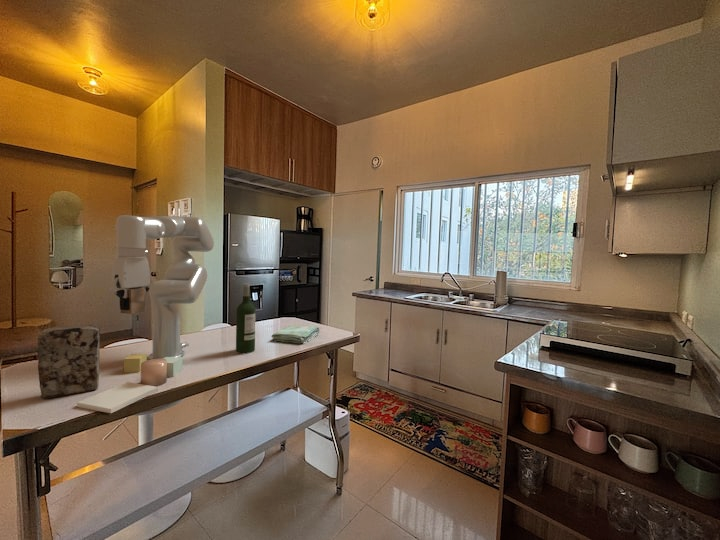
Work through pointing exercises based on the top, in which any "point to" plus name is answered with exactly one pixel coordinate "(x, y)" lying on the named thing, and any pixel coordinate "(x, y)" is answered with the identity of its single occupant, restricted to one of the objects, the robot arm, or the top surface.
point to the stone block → (68, 359)
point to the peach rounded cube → (154, 372)
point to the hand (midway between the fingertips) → (132, 307)
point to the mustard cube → (134, 362)
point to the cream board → (117, 397)
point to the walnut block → (135, 301)
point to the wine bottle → (245, 324)
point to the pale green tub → (174, 365)
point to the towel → (295, 334)
